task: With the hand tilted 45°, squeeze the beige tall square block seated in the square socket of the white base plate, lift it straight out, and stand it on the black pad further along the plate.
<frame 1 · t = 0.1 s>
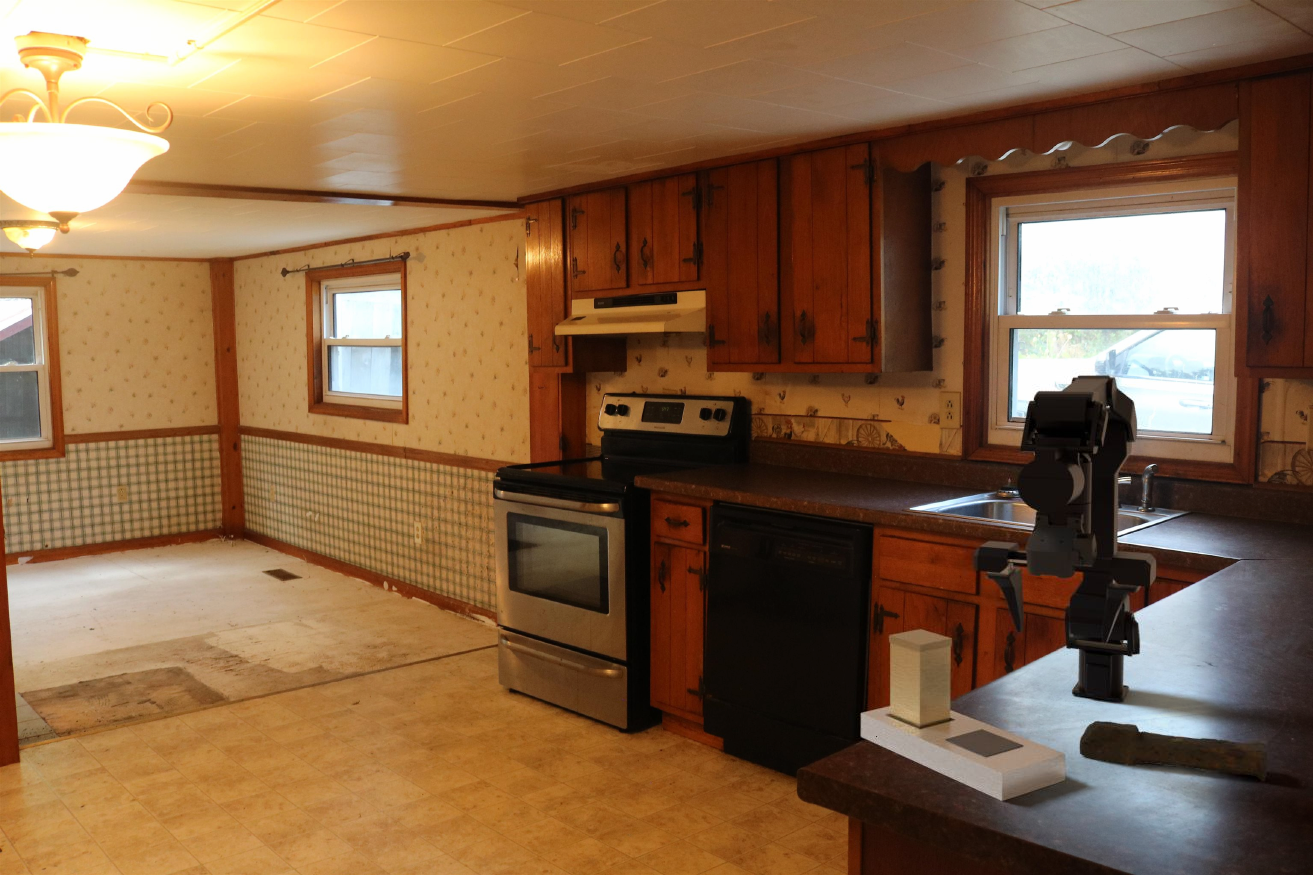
hand: (1061, 637, 117), 15 cm above the worktop, tool pointing down, fingers open, 9 cm apart
white base plate: (957, 757, 120), on the worktop
beige tall square block: (919, 741, 125), resting in white base plate
hand tool: (1171, 771, 116), on the worktop
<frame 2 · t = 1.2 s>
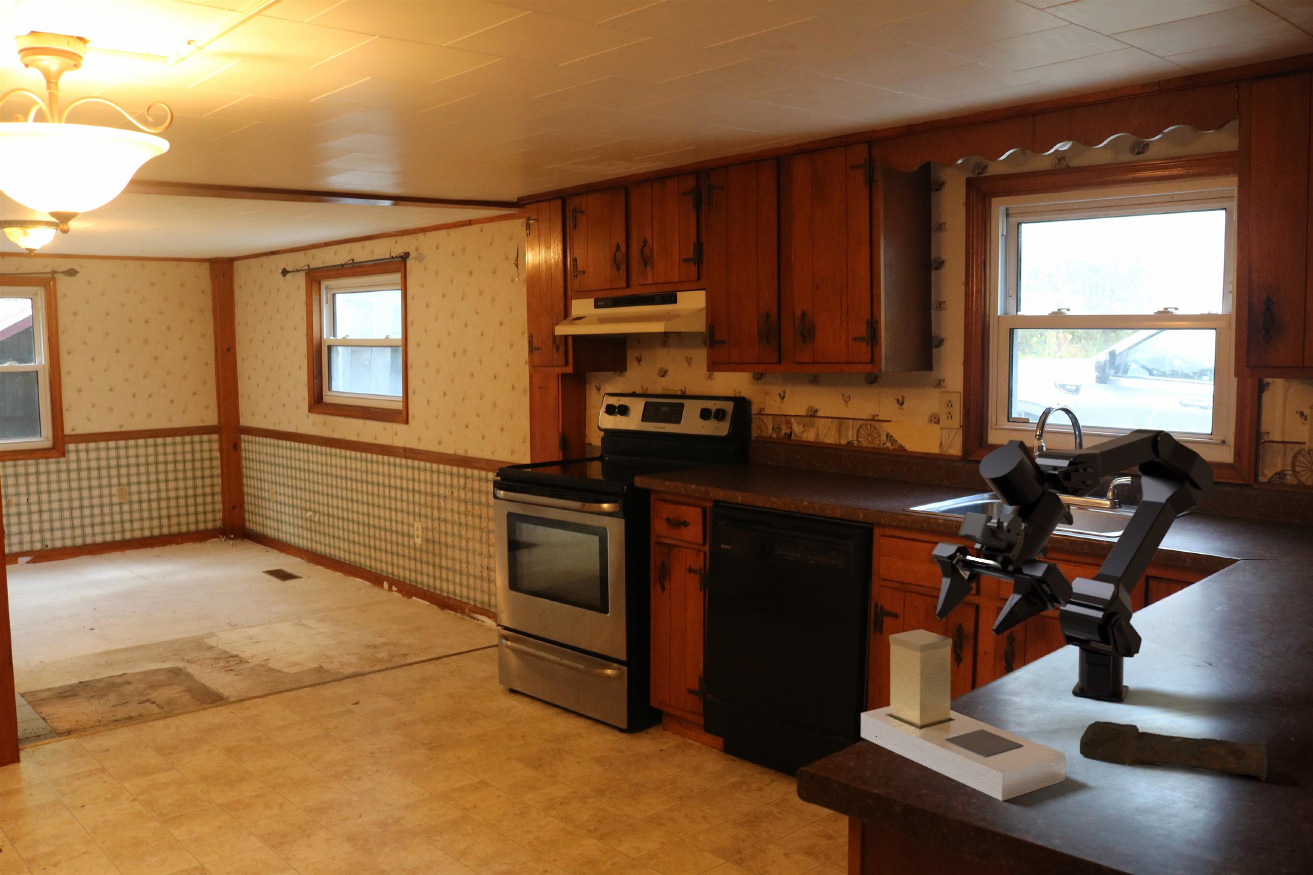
hand: (965, 625, 128), 13 cm above the worktop, tool tilted 45°, fingers open, 9 cm apart
nothing on the worktop moved.
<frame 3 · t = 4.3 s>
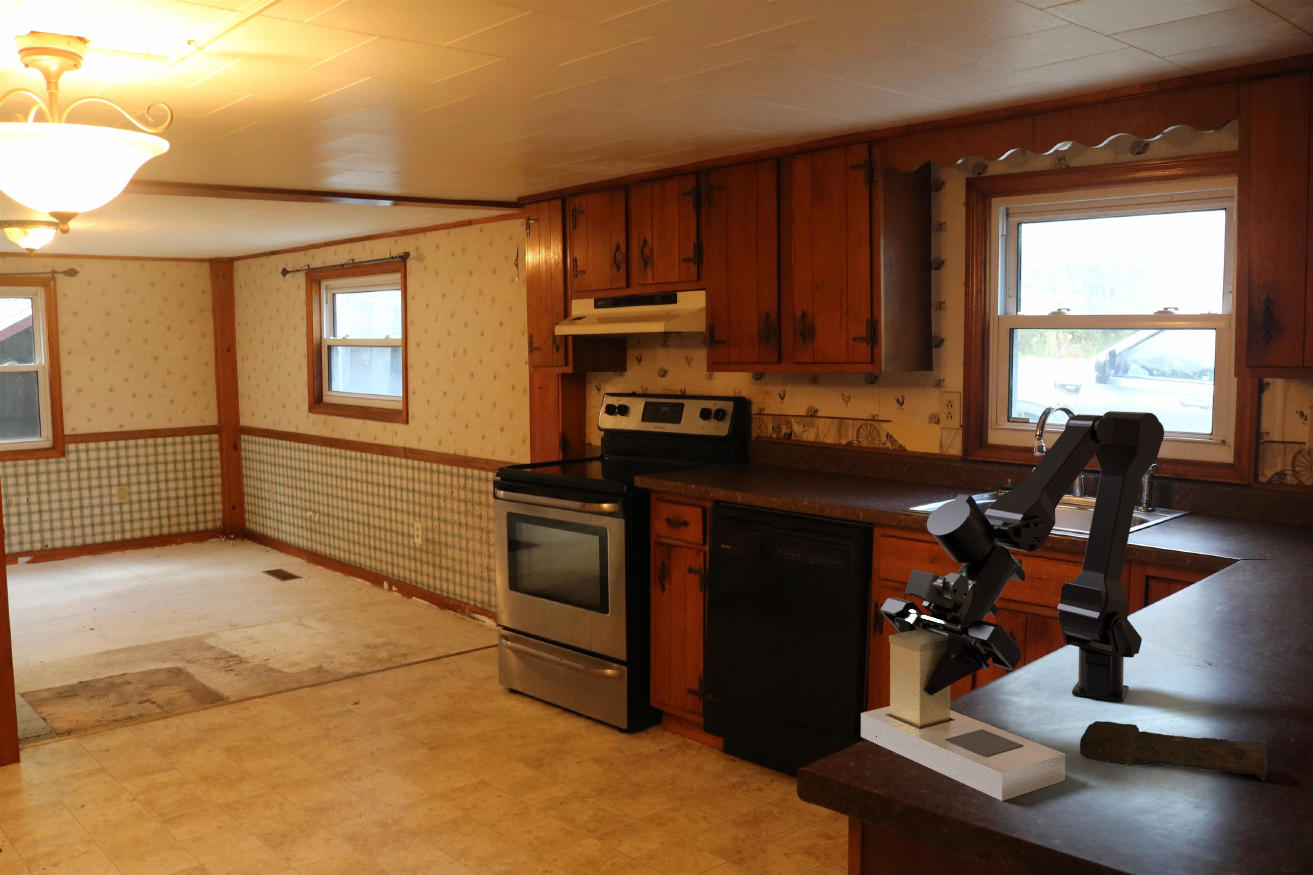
hand: (911, 687, 124), 7 cm above the worktop, tool tilted 45°, fingers closed on beige tall square block, 5 cm apart
beige tall square block: (919, 741, 125), resting in white base plate, touching gripper
everything else where it was.
when the fingers open (11 cm above the worktop, at t = 8.7 s): beige tall square block drops 1 cm, resting on white base plate.
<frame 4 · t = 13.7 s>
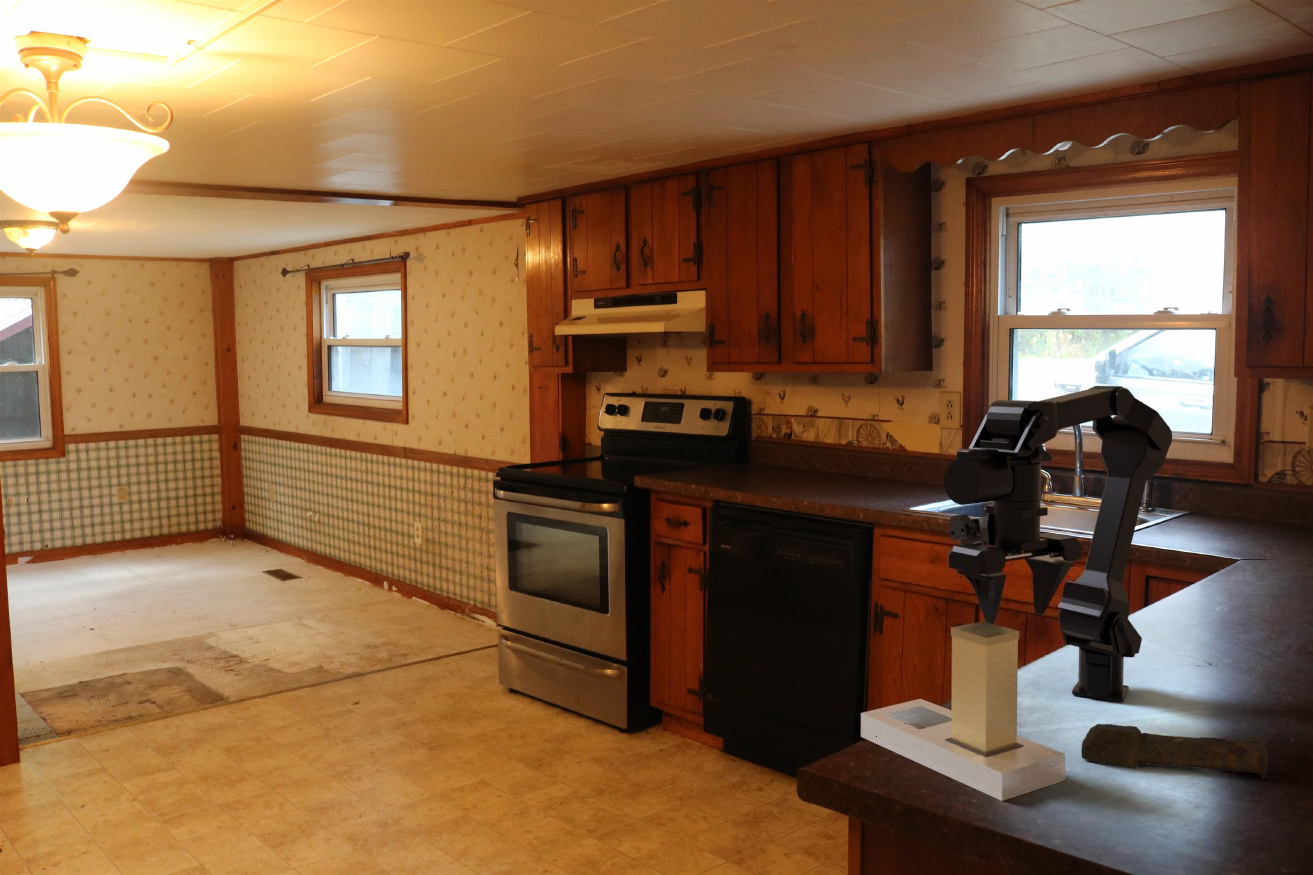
hand: (1015, 619, 132), 13 cm above the worktop, tool pointing down, fingers open, 9 cm apart
beige tall square block: (983, 741, 116), point 3 cm above the worktop, touching white base plate
at the end: beige tall square block 0.0 cm from the target spot, point 3.1 cm above the worktop; beige tall square block tilted 0°; the gripper is holding nothing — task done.
